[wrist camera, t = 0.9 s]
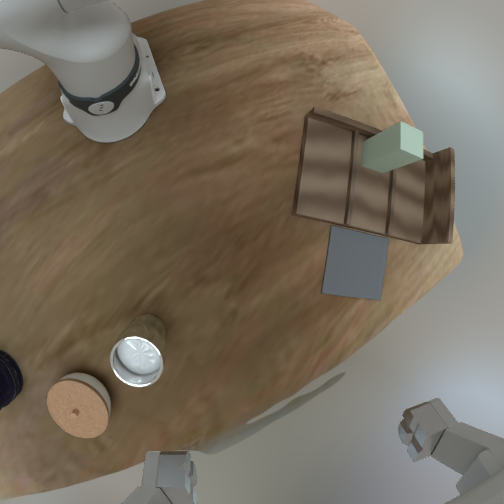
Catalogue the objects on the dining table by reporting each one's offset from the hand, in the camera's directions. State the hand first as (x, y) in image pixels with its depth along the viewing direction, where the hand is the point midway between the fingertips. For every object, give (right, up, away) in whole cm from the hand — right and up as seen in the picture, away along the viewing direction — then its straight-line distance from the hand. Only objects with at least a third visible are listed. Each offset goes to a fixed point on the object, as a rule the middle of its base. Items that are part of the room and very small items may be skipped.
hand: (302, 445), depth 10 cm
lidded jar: (-31, -18, +37) cm, 51 cm away
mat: (+17, +5, +47) cm, 50 cm away
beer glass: (-19, -6, +39) cm, 44 cm away
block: (+21, +25, +46) cm, 56 cm away
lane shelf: (+20, +21, +47) cm, 56 cm away
